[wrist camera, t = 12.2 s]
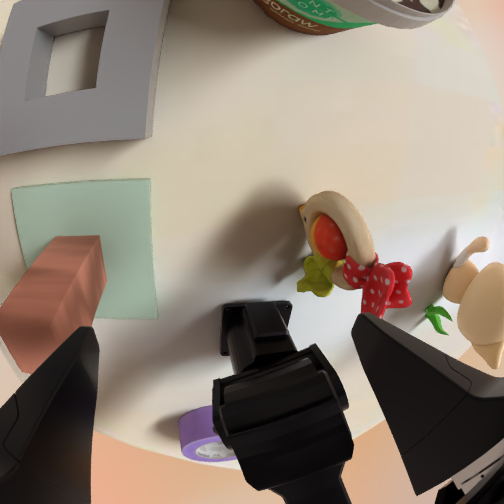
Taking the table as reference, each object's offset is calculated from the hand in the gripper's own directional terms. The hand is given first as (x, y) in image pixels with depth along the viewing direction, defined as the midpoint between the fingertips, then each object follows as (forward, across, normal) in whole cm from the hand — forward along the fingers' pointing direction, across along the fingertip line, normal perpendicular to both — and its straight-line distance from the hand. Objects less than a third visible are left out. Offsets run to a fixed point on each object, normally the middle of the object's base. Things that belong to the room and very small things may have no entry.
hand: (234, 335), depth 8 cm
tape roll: (+13, -2, +32) cm, 35 cm away
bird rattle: (+13, -9, +2) cm, 16 cm away
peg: (+12, +10, +4) cm, 16 cm away
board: (+13, +10, +4) cm, 17 cm away
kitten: (+13, -34, +8) cm, 37 cm away
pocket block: (+13, +10, -11) cm, 20 cm away
